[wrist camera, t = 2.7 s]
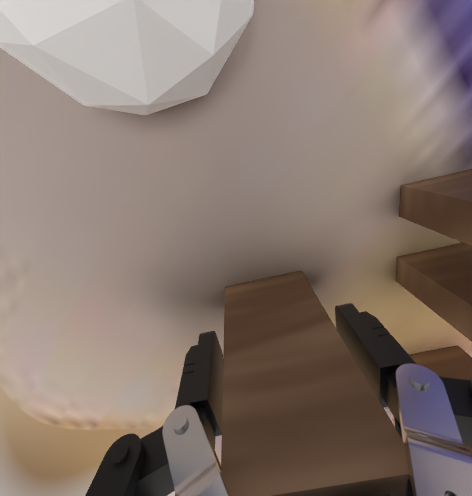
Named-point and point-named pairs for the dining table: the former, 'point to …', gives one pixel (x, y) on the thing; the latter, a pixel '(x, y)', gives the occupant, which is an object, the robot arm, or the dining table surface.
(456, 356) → the domino
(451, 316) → the domino
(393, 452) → the domino
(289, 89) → the dining table surface
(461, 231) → the domino
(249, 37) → the dining table surface
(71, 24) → the perfume bottle
